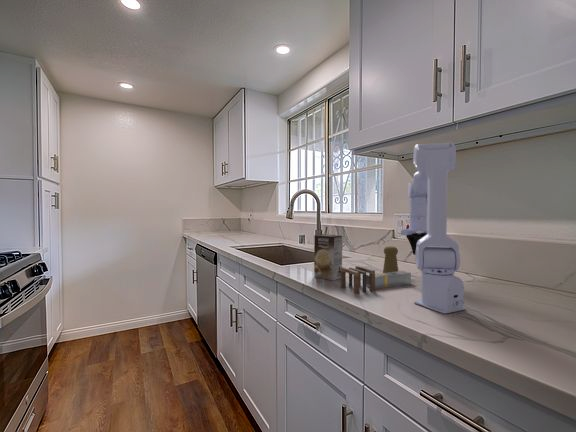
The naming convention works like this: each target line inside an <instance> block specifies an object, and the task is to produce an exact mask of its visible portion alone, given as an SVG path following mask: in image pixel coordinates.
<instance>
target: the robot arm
mask: <svg viewBox="0 0 576 432" xmlns="http://www.w3.org/2000/svg"><path fill="white" fill-rule="evenodd" d="M412 153H413V154H412V161H413V165H414V167H415V168H416V170H417V171H416V172H415V173H414V174H413V177H412V181H411V182H409V183H408V186H407V196H408V199H409V228H404V229H402V228H401V229H400V235H401V236H406V238H407V240H408V242H409V244H410V247H411V251H412V254H413V255H414V256H415V257H414V258H415V266H416V268H417V269H418V270H420V271H421V299H417V300H414V301H413V303H414V304H416V305H418V306H422V307H425V308H427V309H430V310H432V311H436V312H437V313H441V314H449V313H450V314H451V313H454V312H455V313H456V312H460V311H463V310H466V308H467V307H466V306H465V304H464V303H465V299H464V297H465V287H464V286H465V285H464V281H463V280H462V279H461V278H460V277H458V276H456V275H455V272H457V271H458V270H459V269H460V266H461V254H460V245H459V244H458V242H457V240H454V239H453V238H452V237H450V236H449V235H448V234H447V227H448V224H447V222H448V220H447V217H448V216H447V215H448V210H447V209H448V208H447V207H448V177H449V173H450V172H452V171H455V169H456V164H457V163H456V162H457V147H456V146H455V144H454V142H452V141H449V142H439V143H436V142H435V143H421V144H419V143H416V144H415V145H414V147H413V152H412Z"/></svg>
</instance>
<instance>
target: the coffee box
mask: <svg viewBox="0 0 576 432" xmlns="http://www.w3.org/2000/svg"><path fill="white" fill-rule="evenodd" d="M313 237H314V241H313V243H314V245H313V246H314V248H313V251H314V254H313V258H314V259H313V260H314V261H313V262H314V263H313V265H314V266H313V272H314V273H313V277H314V278H319V279H324V280H329V281H337V280H340V268H341V267H343V235H339V234H337V235H335V234H325V233H323V234H322V233H321V234H316V235H315V234H314V236H313Z"/></svg>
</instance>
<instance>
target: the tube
mask: <svg viewBox="0 0 576 432" xmlns="http://www.w3.org/2000/svg"><path fill="white" fill-rule="evenodd" d="M411 284H412V273H411V272H410V271H405V270H398V271H396V272H387V273H383V272H381V273H380V272H375V290H376V289H382V288H384V289H385V288H389V287H398V286H405V285H411ZM367 287H368V288H369V274H366V288H367Z"/></svg>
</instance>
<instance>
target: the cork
mask: <svg viewBox="0 0 576 432" xmlns="http://www.w3.org/2000/svg"><path fill="white" fill-rule="evenodd" d="M383 253H384V260H383V269H382V273H387V272H396V271H399V266H398V258H397V255H398V253H399V250H398V248H397V247H395V246H385V247H384V248H383Z"/></svg>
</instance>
